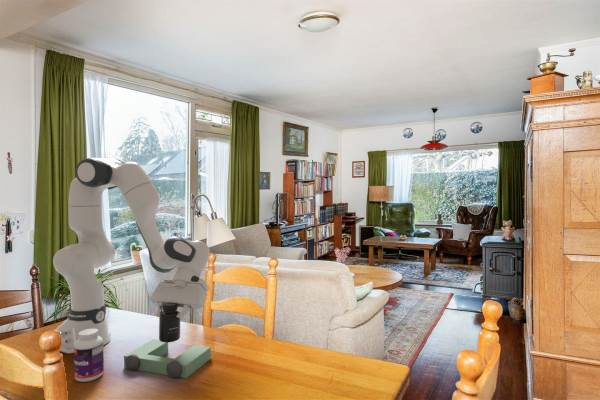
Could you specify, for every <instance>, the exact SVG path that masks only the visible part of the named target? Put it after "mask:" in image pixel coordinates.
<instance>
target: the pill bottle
mask: <svg viewBox="0 0 600 400" xmlns="http://www.w3.org/2000/svg"><path fill="white" fill-rule="evenodd" d="M98 334H99V333H98V329H86V330H83V331H80V332H79V333H78V338H79V339H78V340H77V341H76V342H75V343H74V353H73V358H74V359H73V363H74V365H73V366H74V368H73V369H74V379H75V380H76V381H77V382H79V383H80V382H81V383H83V382H84V383H87V382H92V381H95V380H97V379H99V378H100V377H101V376H103V374H104V372H105V365H104V364H105V363H104V361H105V360H104V345H103V339H102V337H100V336H98Z"/></svg>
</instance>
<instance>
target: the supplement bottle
mask: <svg viewBox="0 0 600 400" xmlns="http://www.w3.org/2000/svg"><path fill="white" fill-rule="evenodd" d="M177 306H178V304H177V303H164V304H163V308H162V312H161V313H160V315H159V317H158V321H159V322H158V340H160V341H161V342H168V343H174V342H177V341H178V340H180V338H181V319H177V318H176V316H177V314H178V312H180V311H179V310H178V308H179V307H177Z"/></svg>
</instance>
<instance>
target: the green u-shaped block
mask: <svg viewBox="0 0 600 400" xmlns="http://www.w3.org/2000/svg"><path fill="white" fill-rule="evenodd" d="M211 349H212V348H211V347H210V346H205V345H204V346H203V345H198V344H197V345H196V344H193V345H191V346H190V347H189V348H188V349H186V350H185V351H184V352H182V353H181V354H179V355H178V356H176V357H175V358H171V357H165V355H167V354H168V353H169V342H161V341H160V340H159V339H153V338H152V339H151V340H149V341H148V342H145V343H144V344H143V345H141V346H139V347H137V348H136V349H133V350H132V351H130V352H129V353H126V354H125V355H123V368H124V369H127V370H128V371H130V372H134V371H141V372H147V373H151V374H152V373H153V374H158V375H165V376H168V377H170V378H172V379H177V378H183V379H188V377H190V376H191V375H192V374H194V373H195V372H196V371H198V370H199V369H200V368H201V367H202V366H204V365H205V364H206V363H207V362H209V361H210V360H212V352H211V351H212V350H211Z"/></svg>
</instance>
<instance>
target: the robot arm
mask: <svg viewBox="0 0 600 400" xmlns="http://www.w3.org/2000/svg"><path fill="white" fill-rule="evenodd" d="M116 188H118V189H119V190H120V192H121V194H122V195H123V198H124V199H125V201H126V203H127V204H128V206H129V209H130V211H131V213H132V216H133V218H134V221H135V223H136V226H137V229H138V231H139V233H140V235H141V238H142V239H143V241H144V244H145V246H146V248H147V251H148V255H149V256H148V257H149V263H150V265H151V267H152V268H153V269H154V270H155V271H157V272H158V273H162V274H165V273H169V272H171V271H173V270H174V269H175V268H176V267H177V270H176V271H175V275H173V279H172V280H171V279H170V280H169V279H163V280H162V281H160V282H159V283H158V285H157V286H156V287H155V288H154V290H153V292H152V293H151V295H150V297H149V299H150V302H151V303H152V304H153V305H154V306H155V305H156V306H157V311H156V313H155V316H156V317H158V318H159V315H160V313H161V312H163V310H162V308H163V304H164V303H177V304H178V306H177V307H178V308H182V310H181V311H179V312H178V314H177V316H176V318H177V319H180V321H181V320H183V319H184V316H185V315H186V314H187V313H189V312H190V309H196V310H200V309H202V308H203V307H204V306H205V303H206V300H207V298H208V297H207V296H208V291H209V289H210V287H209V285H208V283H207V282H206V281H205V279H204V278H202V277H201V276H202V273H203V272H204V271H205V269H206V266H207V264H208V262H209V258H210V255H211V249H210V247H209V246H208V244H207V243H205V242H204V241H202V240H199V239H196V240H188V239H185V238H183V237H182V236H174V235H173V236H170V237H169V238H166V240H165V241H164V239H163V237H162V234H161V233H160V230H159V228H158V226H157V222H156V216H157V211H158V208H159V205H160V196H159V193H158V189H157V188H156V186H155V185H154V183H153V181H152V180H151V178H150V176H149V175H148V174H147V173H146V171H145V170H144V169H143V167H141V165H140V164H139V163H137V162H134V161H128V162H124V161H122V160H120V159H114V158H110V157H103V158H102V157H87V158H84V159H82V160H80V161H79V162H78V163H77V165H76V168H75V178H74V179H73V178H72V181H71V182H70V186H69V192H68V209H67V211H68V226H69V228H70V230H72V231H74V232H75V234H76V236H77V240H78V242H77V243H75V244H74V243H73V244H69V245H67V246H64V247H63V248H61V249H59V250H58V251H56V252H55V253H54V256H53V257H52V265H53V267H54V270H55V271H56V272H57V273H58V274H59V275H62V277H63V278H64V279H65V281H66V283H67V285H68V287H69V293H70V306H71V308H69V309H67V310H65V314H68V315H67V319H65V320H64V321H62V322H61V324H60V325H58V326H57V327H56V328H55V330H58V331H59V332H60V334H61V337H62V346H61V349H60V352H62V353H65V354H74V343H75V342H76V341H77V340H78V339H79V338H78V333H79V332H80V331H83V330H86V329H98V333H99V334H98V336H100V337H102V339H103V346H104V345H106V344H108V343H109V342H111V337H110V336H111V332H110V331H109V324H108V320H107V318H108V317H107V316H106V314H107V306H106V303H105V288H104V284H103V283H102V281H100V280H98V279H97V278H96V273H95V269H97V268H101V267H105V266H106V265H108V263H111V262H112V261H113V260H114V258H115V255H116V249H115V246H114V245H113V243H112V242H111V241H110V240H109V239H108V237H107V235H106V233H105V230H104V226H103V203H102V202H103V200H102V199H103V198H102V196H103V193H104V191H105V190H106V189H107V190H113V189H116Z"/></svg>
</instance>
